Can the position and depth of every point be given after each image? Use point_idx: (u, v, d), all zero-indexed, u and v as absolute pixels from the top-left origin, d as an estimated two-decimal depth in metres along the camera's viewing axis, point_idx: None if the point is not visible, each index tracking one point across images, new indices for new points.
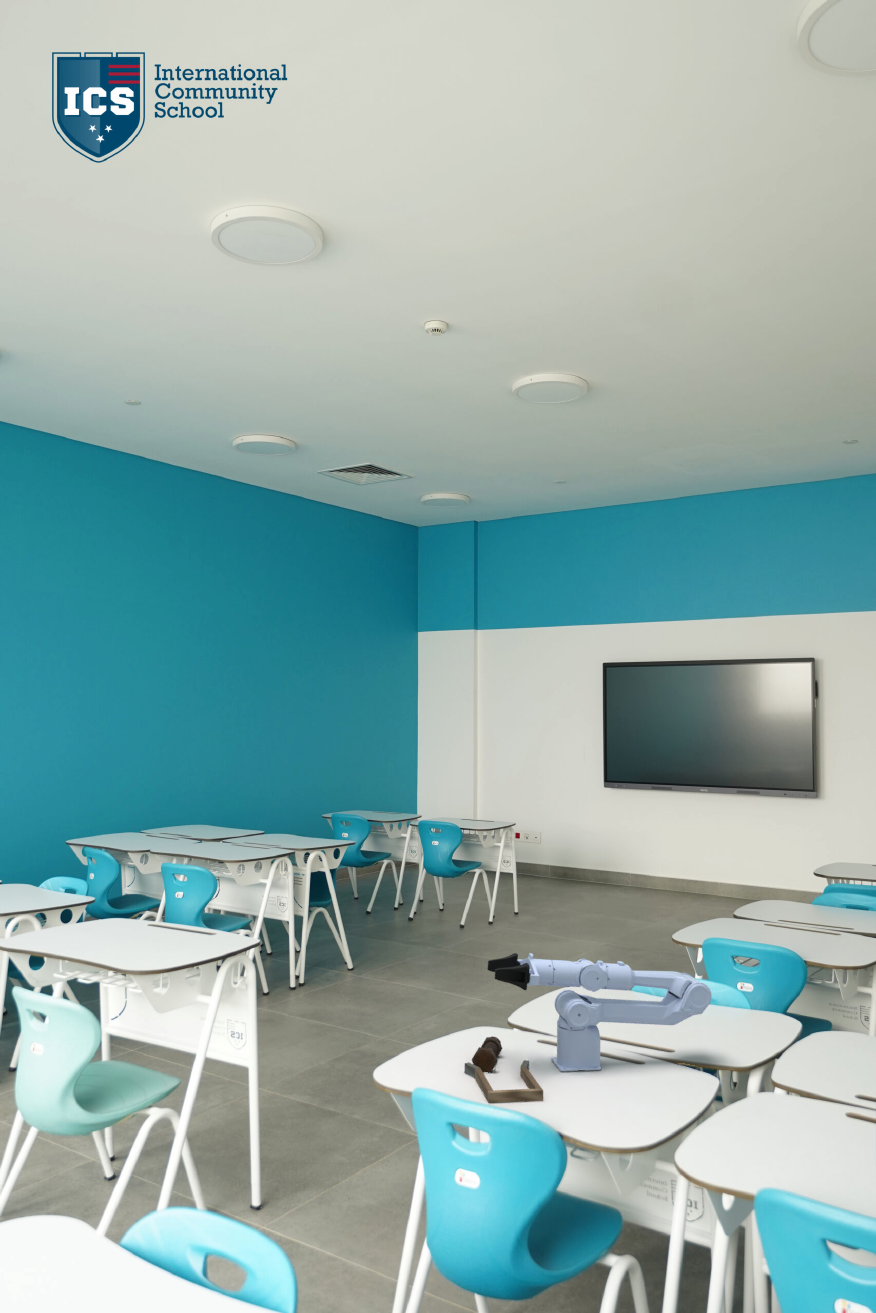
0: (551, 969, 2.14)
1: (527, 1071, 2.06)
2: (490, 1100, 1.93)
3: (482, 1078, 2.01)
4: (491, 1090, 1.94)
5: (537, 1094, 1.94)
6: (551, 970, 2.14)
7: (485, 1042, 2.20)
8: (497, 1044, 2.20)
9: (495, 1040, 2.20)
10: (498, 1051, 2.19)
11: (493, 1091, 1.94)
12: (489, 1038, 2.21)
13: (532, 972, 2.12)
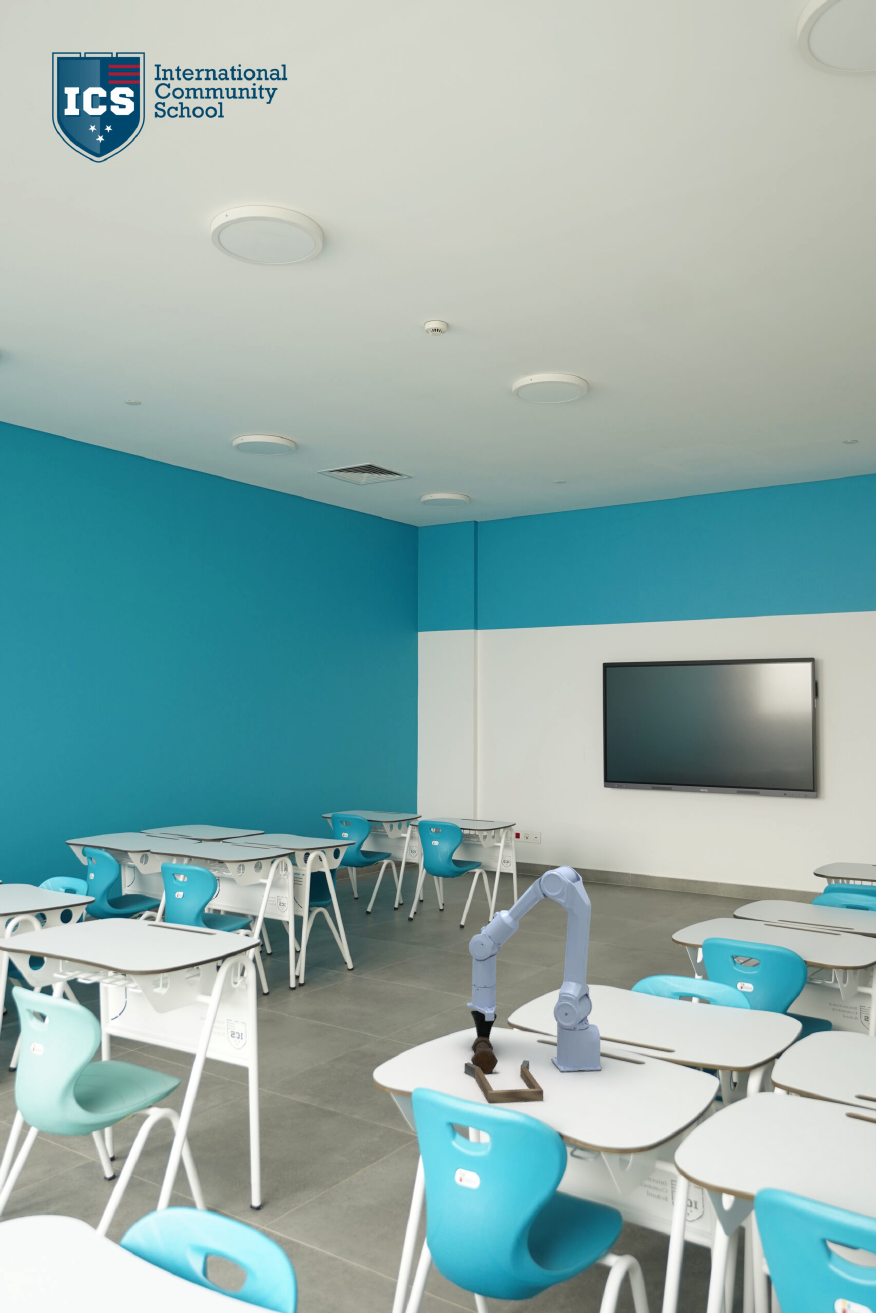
0: (480, 989, 2.24)
1: (527, 1071, 2.06)
2: (490, 1100, 1.93)
3: (482, 1078, 2.01)
4: (491, 1090, 1.94)
5: (537, 1094, 1.94)
6: (481, 989, 2.24)
7: (477, 1042, 2.19)
8: (489, 1044, 2.19)
9: (487, 1040, 2.19)
10: None
11: (493, 1091, 1.94)
12: (480, 1038, 2.20)
13: None
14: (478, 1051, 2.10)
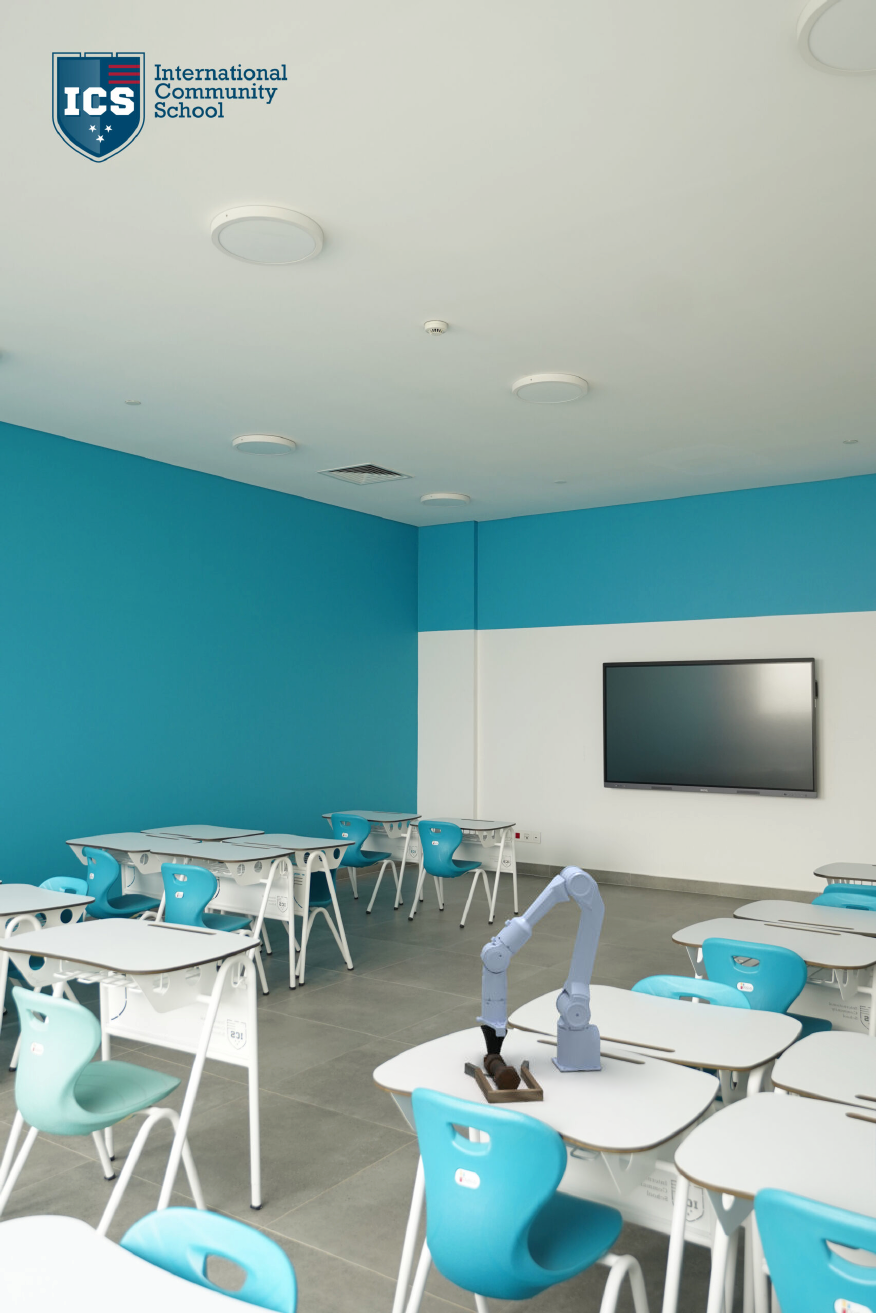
0: (490, 1002, 2.13)
1: (527, 1071, 2.06)
2: (490, 1100, 1.93)
3: (482, 1078, 2.01)
4: (491, 1090, 1.94)
5: (537, 1094, 1.94)
6: (491, 1002, 2.13)
7: (490, 1060, 2.08)
8: (503, 1061, 2.08)
9: (500, 1057, 2.09)
10: None
11: (493, 1091, 1.94)
12: (493, 1056, 2.09)
13: None
14: (501, 1070, 1.99)
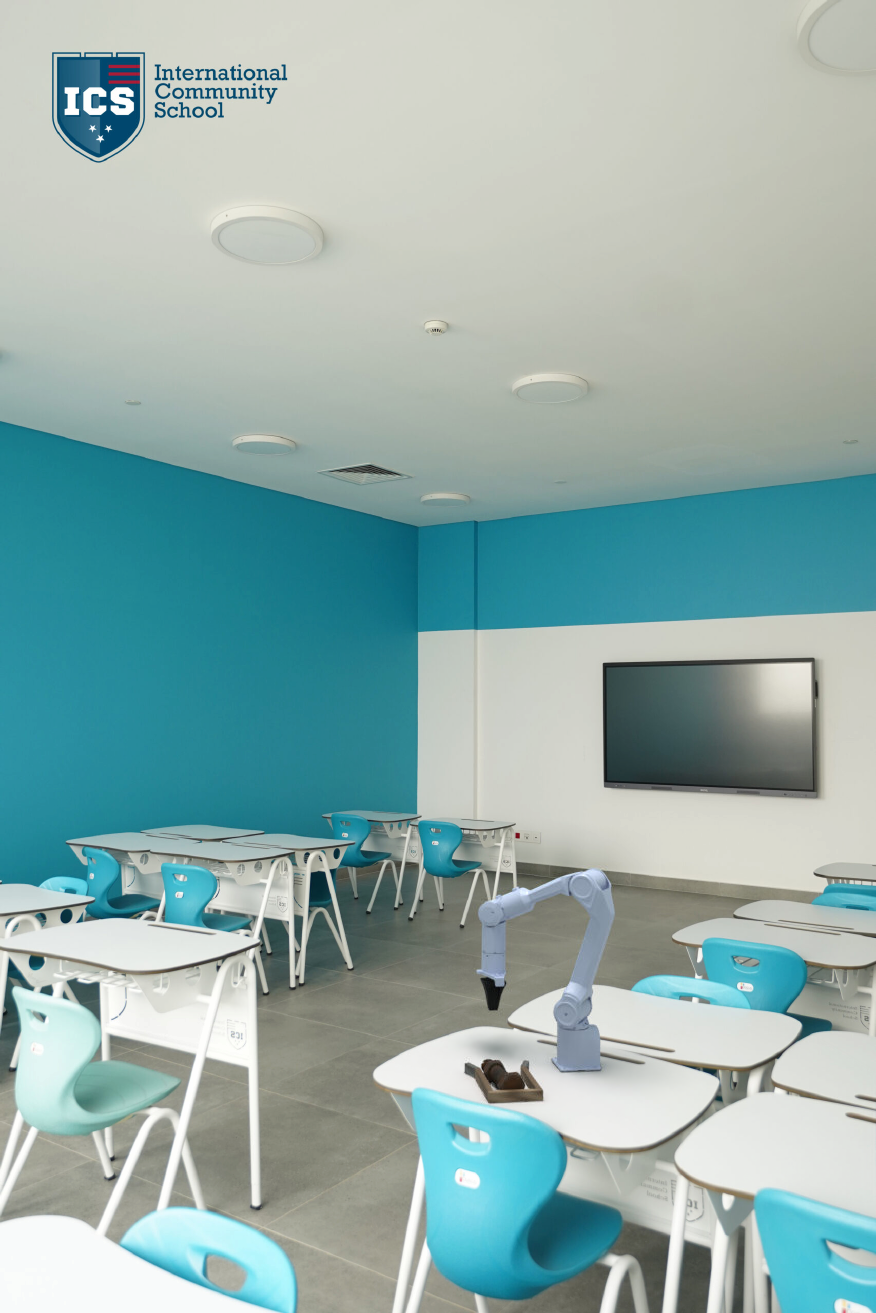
0: (490, 955, 2.24)
1: (527, 1071, 2.06)
2: (490, 1100, 1.93)
3: (482, 1078, 2.01)
4: (491, 1090, 1.94)
5: (537, 1094, 1.94)
6: (491, 955, 2.24)
7: (490, 1066, 2.04)
8: (502, 1066, 2.05)
9: (500, 1062, 2.05)
10: None
11: (493, 1091, 1.94)
12: (492, 1061, 2.05)
13: None
14: (506, 1076, 1.95)
